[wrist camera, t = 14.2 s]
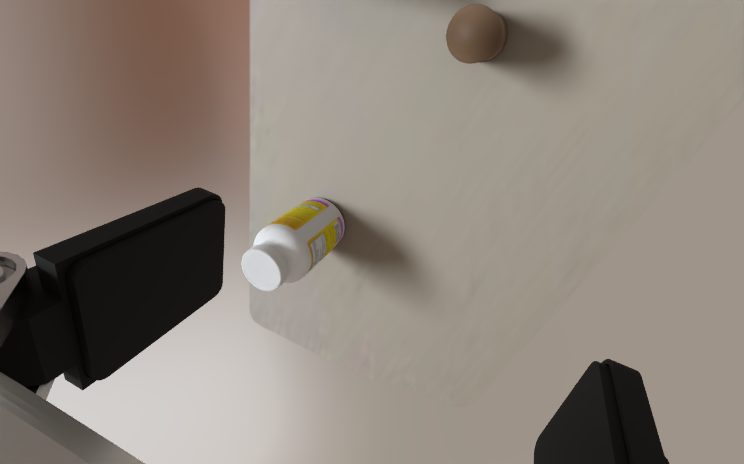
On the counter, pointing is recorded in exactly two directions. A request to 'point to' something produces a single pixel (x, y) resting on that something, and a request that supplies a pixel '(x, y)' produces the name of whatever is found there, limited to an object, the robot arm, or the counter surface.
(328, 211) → the supplement bottle
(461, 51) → the short peg
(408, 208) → the counter surface
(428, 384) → the counter surface
